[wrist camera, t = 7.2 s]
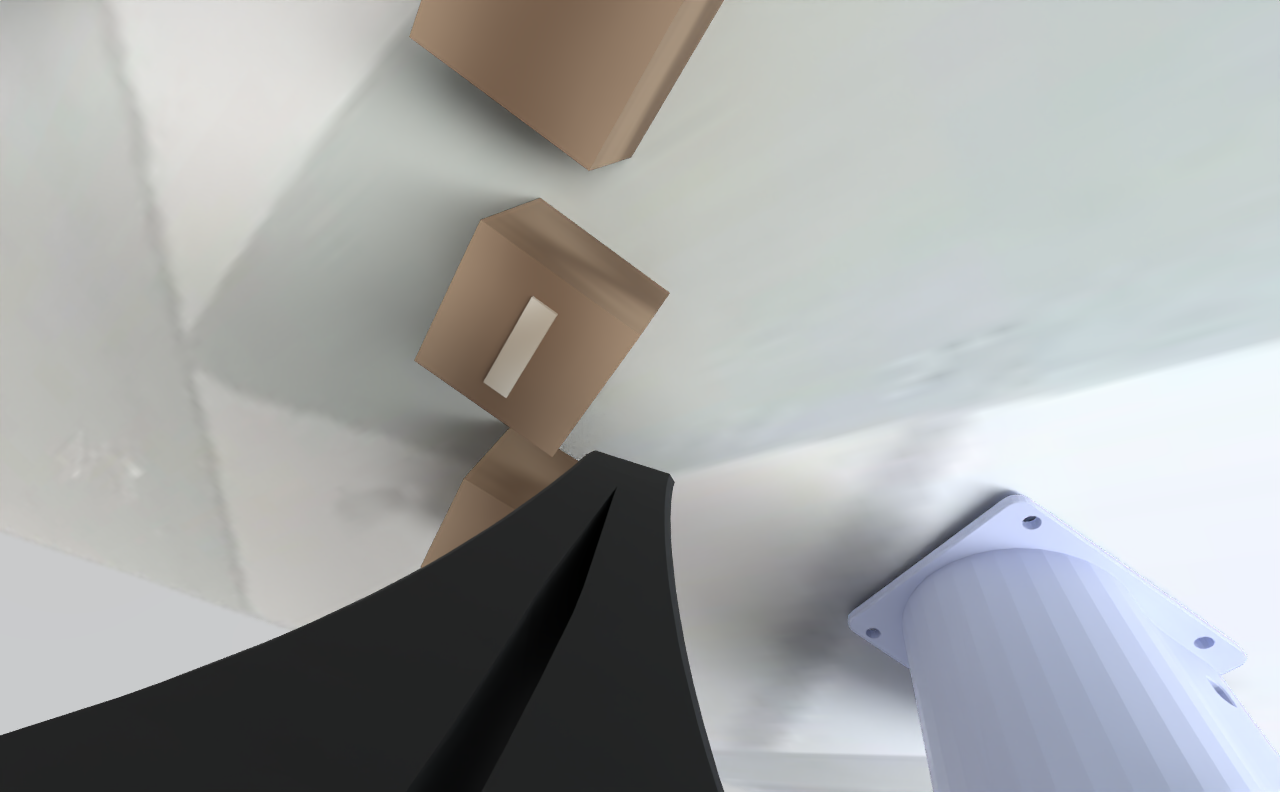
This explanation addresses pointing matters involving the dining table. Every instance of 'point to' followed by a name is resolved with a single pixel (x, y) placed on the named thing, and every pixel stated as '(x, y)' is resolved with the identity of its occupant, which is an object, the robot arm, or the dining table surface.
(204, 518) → the dining table surface
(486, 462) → the marked block 7
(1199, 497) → the dining table surface
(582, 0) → the plain block
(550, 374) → the marked block 1
